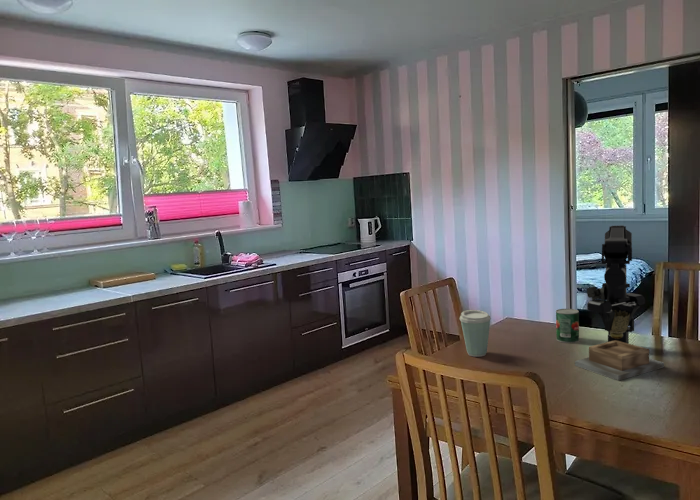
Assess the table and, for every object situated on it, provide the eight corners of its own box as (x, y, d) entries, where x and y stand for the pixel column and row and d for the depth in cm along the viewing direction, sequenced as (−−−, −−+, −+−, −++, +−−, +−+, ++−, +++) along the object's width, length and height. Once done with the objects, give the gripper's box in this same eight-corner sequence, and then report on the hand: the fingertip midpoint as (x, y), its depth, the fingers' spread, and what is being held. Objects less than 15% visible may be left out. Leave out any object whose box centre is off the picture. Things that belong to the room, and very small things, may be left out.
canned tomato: (554, 337, 202) (553, 308, 201) (575, 336, 201) (575, 308, 200) (559, 343, 194) (558, 313, 193) (581, 342, 193) (581, 313, 192)
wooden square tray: (618, 353, 179) (618, 336, 178) (663, 367, 165) (664, 348, 164) (574, 365, 171) (574, 347, 170) (618, 380, 156) (618, 360, 156)
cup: (632, 340, 162) (632, 315, 161) (606, 340, 164) (606, 315, 163) (625, 333, 170) (625, 309, 169) (600, 334, 171) (600, 309, 170)
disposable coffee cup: (497, 352, 188) (496, 311, 187) (482, 361, 181) (480, 318, 179) (471, 347, 196) (469, 307, 194) (455, 355, 188) (453, 314, 186)
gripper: (615, 273, 176) (615, 319, 178) (573, 280, 168) (573, 328, 170) (646, 277, 166) (646, 326, 167) (602, 286, 158) (602, 336, 160)
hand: (616, 329), depth 167 cm, fingers closed on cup, 6 cm apart
